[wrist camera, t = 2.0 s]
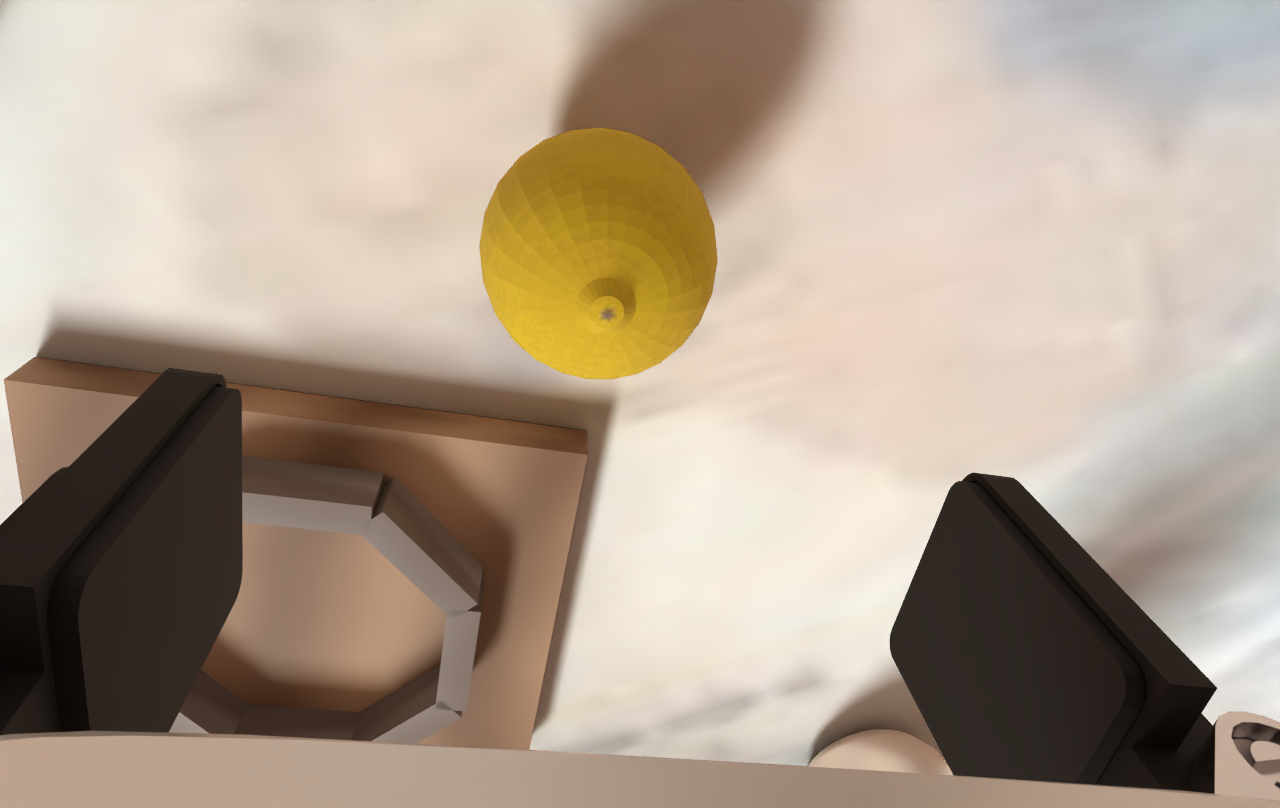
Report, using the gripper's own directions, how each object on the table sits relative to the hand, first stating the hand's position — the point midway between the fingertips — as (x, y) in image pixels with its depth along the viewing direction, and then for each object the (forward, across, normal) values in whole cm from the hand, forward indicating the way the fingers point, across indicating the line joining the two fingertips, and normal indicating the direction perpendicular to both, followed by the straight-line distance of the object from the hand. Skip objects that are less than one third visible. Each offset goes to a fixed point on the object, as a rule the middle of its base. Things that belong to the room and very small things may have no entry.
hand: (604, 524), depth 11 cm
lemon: (+14, 0, -1) cm, 14 cm away
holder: (+15, +7, +13) cm, 21 cm away
